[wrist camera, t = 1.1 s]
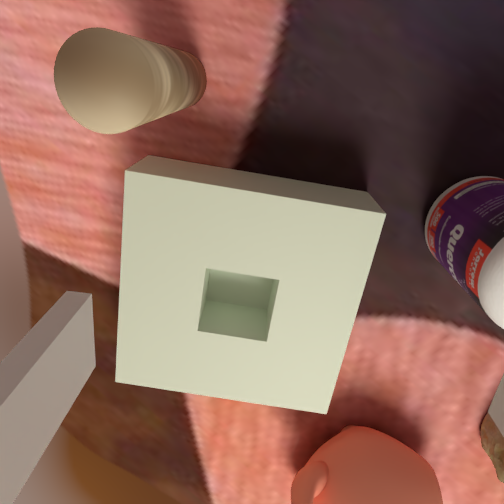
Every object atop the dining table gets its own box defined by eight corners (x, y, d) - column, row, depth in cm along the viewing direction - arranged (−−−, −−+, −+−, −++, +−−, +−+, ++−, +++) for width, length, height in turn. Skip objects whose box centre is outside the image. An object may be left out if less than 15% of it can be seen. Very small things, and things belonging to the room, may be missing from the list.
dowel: (155, 45, 31) (52, 19, 16) (209, 55, 31) (156, 37, 16) (151, 103, 33) (54, 125, 18) (203, 111, 33) (149, 141, 18)
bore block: (148, 154, 34) (125, 170, 29) (367, 191, 35) (386, 214, 29) (136, 340, 41) (115, 381, 36) (318, 369, 42) (326, 414, 36)
